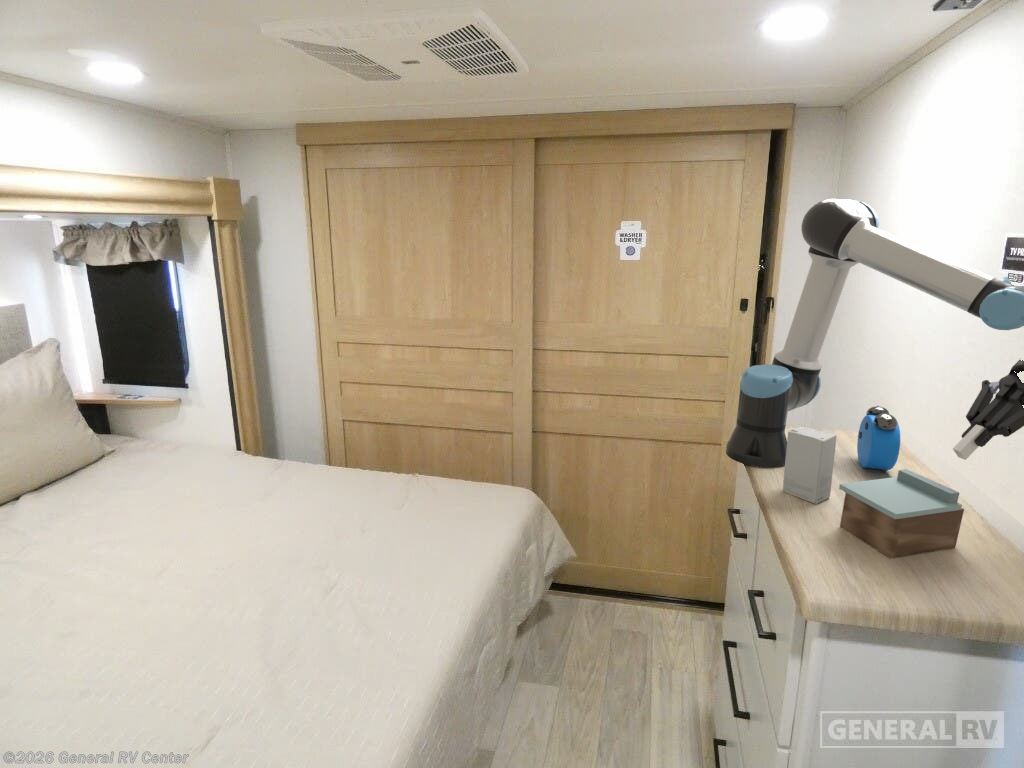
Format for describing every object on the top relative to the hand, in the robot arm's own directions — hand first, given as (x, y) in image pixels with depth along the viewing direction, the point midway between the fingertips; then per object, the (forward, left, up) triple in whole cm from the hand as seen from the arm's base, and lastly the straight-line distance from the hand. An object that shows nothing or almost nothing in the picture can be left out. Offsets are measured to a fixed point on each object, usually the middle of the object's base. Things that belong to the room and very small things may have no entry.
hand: (959, 454), depth 114 cm
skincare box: (-20, -16, -16) cm, 30 cm away
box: (0, -12, -16) cm, 20 cm away
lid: (0, -13, -8) cm, 15 cm away
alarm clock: (-29, +12, -16) cm, 35 cm away
